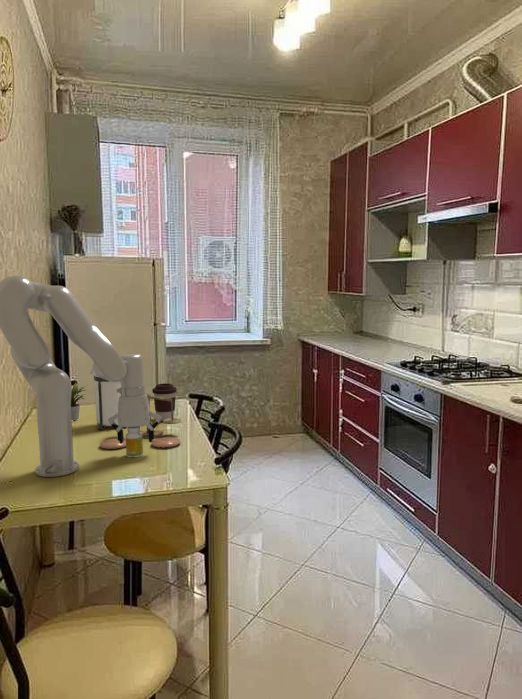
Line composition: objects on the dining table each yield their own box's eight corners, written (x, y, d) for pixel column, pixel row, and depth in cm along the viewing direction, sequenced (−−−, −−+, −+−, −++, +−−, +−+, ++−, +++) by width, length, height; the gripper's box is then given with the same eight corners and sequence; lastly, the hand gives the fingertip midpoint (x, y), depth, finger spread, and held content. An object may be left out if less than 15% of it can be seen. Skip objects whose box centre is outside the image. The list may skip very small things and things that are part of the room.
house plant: (87, 423, 216) (85, 384, 214) (51, 425, 214) (49, 386, 212) (92, 415, 230) (90, 378, 228) (59, 417, 228) (57, 379, 226)
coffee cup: (161, 424, 215) (160, 387, 213) (149, 419, 223) (147, 384, 221) (181, 419, 222) (180, 384, 220) (169, 415, 229) (168, 381, 227)
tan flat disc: (179, 448, 182) (178, 445, 182) (149, 449, 181) (149, 445, 181) (181, 440, 192) (181, 437, 192) (154, 441, 191) (154, 437, 191)
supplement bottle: (138, 458, 172) (137, 429, 171) (123, 457, 173) (122, 428, 172) (145, 453, 177) (144, 425, 176) (130, 452, 178) (129, 424, 177)
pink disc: (126, 450, 181) (126, 446, 181) (96, 450, 181) (96, 447, 180) (131, 441, 191) (131, 438, 191) (104, 442, 190) (103, 438, 190)
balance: (114, 439, 194) (112, 393, 192) (118, 434, 201) (116, 390, 199) (180, 437, 195) (179, 392, 193) (182, 432, 202) (181, 388, 200)
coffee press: (114, 433, 202) (110, 355, 198) (84, 428, 210) (81, 353, 206) (145, 423, 217) (142, 350, 213) (116, 418, 225) (113, 348, 221)
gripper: (103, 395, 169) (107, 446, 171) (157, 392, 169) (160, 444, 172) (109, 390, 176) (112, 439, 178) (161, 388, 177) (164, 437, 179)
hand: (136, 441), depth 175 cm, fingers open, 9 cm apart
